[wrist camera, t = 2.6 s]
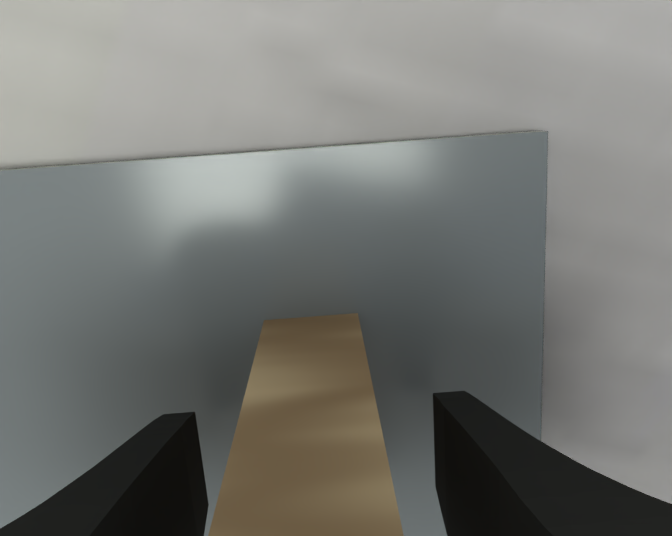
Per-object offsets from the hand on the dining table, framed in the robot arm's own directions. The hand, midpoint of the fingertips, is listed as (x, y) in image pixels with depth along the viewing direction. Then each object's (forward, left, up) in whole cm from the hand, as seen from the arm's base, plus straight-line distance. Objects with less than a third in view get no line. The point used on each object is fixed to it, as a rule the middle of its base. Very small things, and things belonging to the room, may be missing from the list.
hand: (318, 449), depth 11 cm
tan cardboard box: (0, 0, -2) cm, 2 cm away
